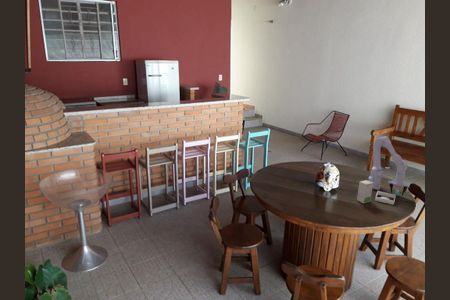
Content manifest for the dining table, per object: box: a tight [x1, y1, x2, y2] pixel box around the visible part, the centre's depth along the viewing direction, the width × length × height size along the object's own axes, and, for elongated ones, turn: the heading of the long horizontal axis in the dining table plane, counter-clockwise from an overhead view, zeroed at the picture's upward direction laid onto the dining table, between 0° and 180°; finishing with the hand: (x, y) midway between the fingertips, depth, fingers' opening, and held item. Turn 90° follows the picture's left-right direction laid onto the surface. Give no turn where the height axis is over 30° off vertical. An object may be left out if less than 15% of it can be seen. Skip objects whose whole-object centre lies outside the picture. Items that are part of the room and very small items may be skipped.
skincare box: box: [356, 179, 373, 204], centre depth 237 cm, size 8×7×16 cm
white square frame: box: [374, 190, 397, 206], centre depth 242 cm, size 13×13×3 cm
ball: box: [392, 189, 402, 197], centre depth 248 cm, size 5×5×5 cm
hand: (396, 193), depth 248 cm, fingers open, 7 cm apart
